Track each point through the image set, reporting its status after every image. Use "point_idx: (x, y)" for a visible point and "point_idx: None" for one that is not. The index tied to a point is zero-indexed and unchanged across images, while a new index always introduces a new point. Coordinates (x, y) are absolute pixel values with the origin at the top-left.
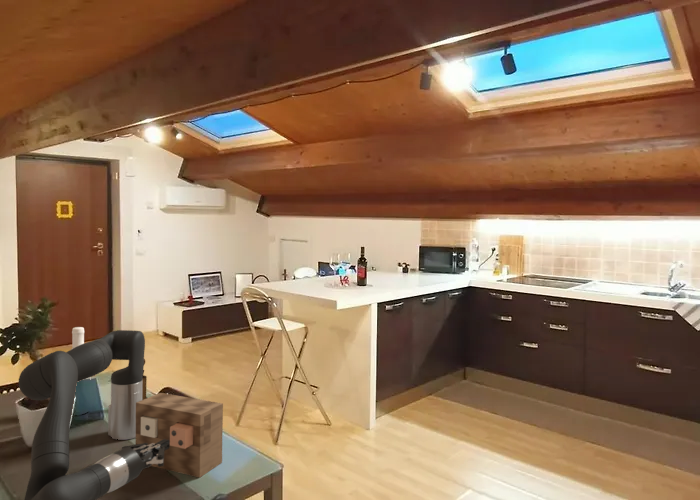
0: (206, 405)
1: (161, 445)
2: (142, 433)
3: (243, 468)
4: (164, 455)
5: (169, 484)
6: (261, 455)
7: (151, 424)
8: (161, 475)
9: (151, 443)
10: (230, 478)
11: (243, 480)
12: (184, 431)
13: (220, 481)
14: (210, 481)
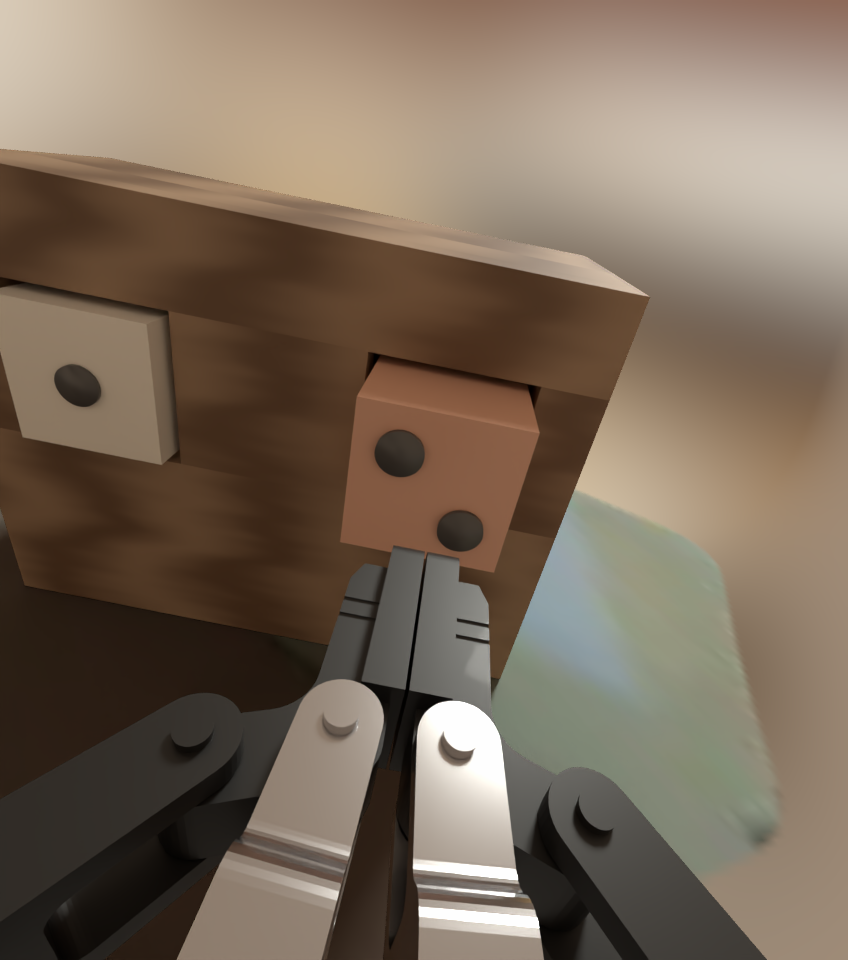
0: (524, 250)
1: (455, 685)
2: (37, 427)
3: (610, 573)
4: (246, 566)
5: (374, 804)
6: (583, 494)
7: (113, 361)
8: (259, 698)
9: (307, 697)
10: (641, 657)
11: (708, 663)
12: (525, 445)
13: (627, 694)
14: (582, 705)
